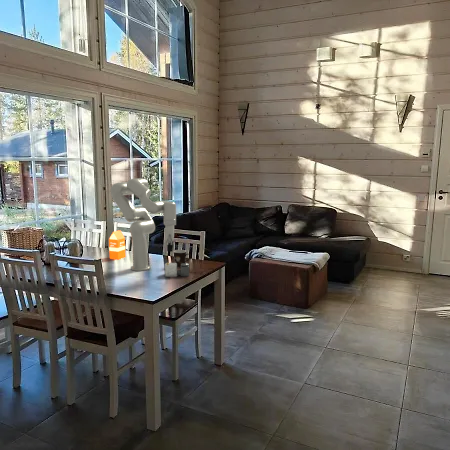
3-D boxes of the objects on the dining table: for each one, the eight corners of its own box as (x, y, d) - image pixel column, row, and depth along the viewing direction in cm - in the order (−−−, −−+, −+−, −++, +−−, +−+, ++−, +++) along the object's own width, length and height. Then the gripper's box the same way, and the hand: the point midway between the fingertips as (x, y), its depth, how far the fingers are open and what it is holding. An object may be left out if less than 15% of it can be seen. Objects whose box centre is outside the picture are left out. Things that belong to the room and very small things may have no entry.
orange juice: (109, 258, 295) (108, 231, 292) (117, 256, 303) (116, 229, 300) (118, 259, 292) (117, 232, 289) (125, 257, 300) (124, 230, 297)
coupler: (166, 273, 257) (166, 262, 256) (189, 273, 258) (188, 262, 257) (166, 276, 250) (165, 265, 249) (189, 276, 251) (188, 265, 250)
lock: (165, 273, 257) (165, 261, 255) (177, 273, 257) (176, 261, 256) (165, 276, 251) (164, 264, 249) (176, 276, 251) (176, 264, 250)
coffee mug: (171, 265, 276) (170, 251, 274) (180, 263, 282) (180, 249, 280) (182, 268, 268) (182, 254, 266) (192, 266, 274) (192, 251, 273)
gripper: (164, 220, 257) (164, 246, 260) (162, 224, 240) (163, 253, 243) (176, 219, 257) (176, 246, 260) (175, 224, 240) (175, 252, 243)
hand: (170, 249), depth 251 cm, fingers open, 9 cm apart
